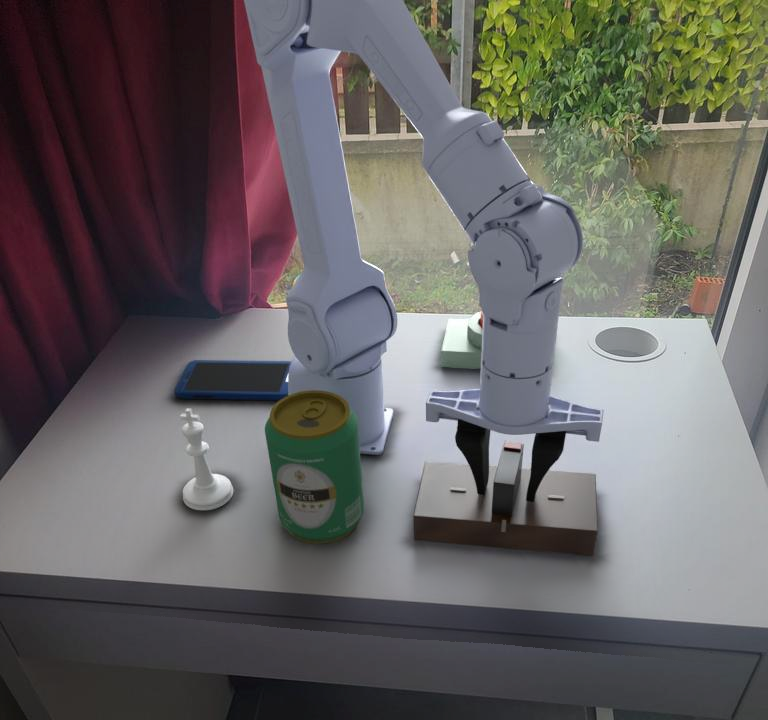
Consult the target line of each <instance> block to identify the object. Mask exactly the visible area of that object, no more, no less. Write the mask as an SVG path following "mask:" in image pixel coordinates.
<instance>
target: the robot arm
mask: <svg viewBox="0 0 768 720" xmlns="http://www.w3.org/2000/svg"><path fill="white" fill-rule="evenodd" d="M243 2H244V7H245V12H246V17H247V21H248V26H249V30H250V34H251V40H252V43H253V48H254V52H255V58H256V62H257V64H258V65H259V66H260V67H261V72H262V77H263V81H264V85H265V91H266V95H267V101H268V104H269V105H268V106H269V109H270V114H271V119H272V123H273V128H274V132H275V137H276V143H277V146H278V151H279V155H280V156H279V157H280V161H281V163H282V164H281V165H282V169H283V175H284V179H285V184H286V187H287V188H286V189H287V193H288V197H289V203H290V206H291V207H290V208H291V211H292V216H293V220H294V226H295V230H296V235H297V239H298V244H299V249H300V254H301V257H302V262H303V269H302V271H301V273H300V274H299V276H298V277H297V279H296V280H295V282H294V284H293V285H292V287H291V288H290V290H289V292H288V293H287V295H286V297H285V303H286V307H287V313H288V323H287V339H288V343H289V346H290V348H291V351H292V353H293V357H292V359H291V360H290V361H291V364H290V369H289V376H288V395H291V394H294V393H297V392H302V391H309V390H319V391H327V392H331V393H334V394H337V395H339V396H341V397H342V398H343V399H345V400H346V402H347V403H348V405H349V408H350V409H351V410H352V411H353V412H354V413H355V415H356V417H357V421H358V432H359V446H360V455H377V456H378V455H382V454H383V452H384V449H385V445H386V441H387V438H388V436H389V435H388V434H389V431H390V427H391V423H392V420H393V417H394V409H393V408H390V407H385V400H384V397H385V396H384V380H383V379H384V376H383V355H384V354H385V353H386V352H387V341H389V340H390V339H392V338H393V337H394V335H395V334H396V331H397V328H398V314H397V308H396V305H395V303H394V300H393V298H392V297H391V295H390V293H389V291H388V287H387V285H386V281H385V274H384V271H383V270H381V269H380V268H378V267H377V266H375V265H373V264H371V263H369V262H367V261H366V260H364V259H363V258H362V253H361V248H360V243H359V235H358V230H357V224H356V220H355V214H354V208H353V202H352V197H351V191H350V185H349V180H348V179H349V178H348V174H347V173H348V172H347V167H346V163H345V156H344V150H343V145H342V138H341V133H340V127H339V122H338V117H337V111H336V105H335V99H334V93H333V88H332V82H331V77H330V72H331V70H332V67H333V65H334V63H336V61H337V59H338V58H339V55H340V54H341V52H345V53H351V54H355V55H358V56H359V58H360V59H361V60H362V62H364V64H365V65H366V67H367V68H368V69H369V70H370V72H371V73H372V75H374V77H375V78H376V79H377V81H378V82H379V84H380V85H381V86H382V87H383V89H385V91H386V93H388V95H389V96H390V98H391V99H392V100H393V101H394V103H395V104H396V106H398V108H399V109H400V110H401V112H402V113H403V114H404V115H405V117H406V118H407V120H408V121H409V122H410V123H411V125H412V126H413V127H414V128H415V130H416V131H417V133H418V134H419V135H420V136H421V138H422V140H423V141H422V142H423V144H422V154H421V167H422V169H423V170H424V172H425V173H426V174H427V176H428V178H429V179H430V181H431V182H432V184H433V186H434V187H435V188H436V190H437V192H438V193H439V195H440V196H441V198H442V199H443V201H444V202H445V204H446V205H447V206H448V209H449V210H450V211H451V212H452V214H453V216H454V218H455V219H456V220H457V222H458V223H459V225H460V227H461V228H462V229H463V231H464V232H465V234H466V235H467V238H469V240H470V241H471V243H472V245H473V248H471V249H470V250H469V249H468V251H467V260H468V266H469V269H470V272H471V275H472V277H473V279H474V281H475V283H476V286H477V288H478V292H479V301H478V302H479V303H478V306H479V307H480V308H481V311H482V313H483V331H482V353H481V369H480V375H479V376H480V377H479V388H473V389H464V390H463V389H462V390H448V391H445V390H444V391H443V390H441V391H440V390H430V392H429V393H428V396H427V399H426V401H425V422H427V423H438V422H440V419H441V420H449V421H450V420H451V421H456V422H457V426H456V432H455V435H454V440H455V445H456V447H457V448H458V449H459V451H460V452H461V454H462V455H463V457H464V458H465V461H466V462H467V464H468V465H469V466H470V468H471V471H472V474H473V477H474V480H475V484H476V488H477V494H480V495H485V492H486V488H487V484H488V479H489V466H490V440H491V431H492V432H496V433H498V434H502V435H509V436H521V435H532V434H534V440H533V445H532V448H531V462H530V463H531V464H530V469H531V475H530V480H529V485H528V490H527V495H526V501H531V502H533V501H534V499H535V495H536V492H537V489H538V487H539V485H540V483H541V481H542V479H543V478H544V476H545V474H546V473H547V472H548V470H550V469H551V468H552V466H554V464H556V462H557V461H559V459H560V457H561V455H562V454H563V452H564V449H565V448H564V447H565V443H566V436H567V435H577V436H584V437H585V440H586V441H588V442H596V443H599V442H600V438H601V432H602V427H603V420H604V419H603V418H604V409H601V408H594V407H589V406H586V405H582V404H578V403H575V402H572V401H569V400H565V399H562V398H559V397H556V396H553V395H551V387H552V381H553V372H554V364H555V363H554V362H555V354H556V346H557V345H556V344H557V336H558V328H559V319H560V310H561V300H562V292H563V283H564V278H563V277H561V276H563V275H564V274H566V273H567V272H568V271H569V270H571V269H572V268H573V267H574V266H575V265H576V264H577V262H578V261H579V259H580V257H581V254H582V251H583V245H584V237H583V229H582V226H581V224H580V221H579V219H578V217H577V216H576V214H575V210H574V207H573V206H572V205H571V204H570V203H569V202H568V201H566V200H565V199H564V198H562V197H560V196H557V195H554V194H551V193H549V192H547V191H546V190H545V188H544V187H543V186H542V185H538V184H537V183H533V181H532V180H531V178H530V176H529V175H528V174H527V172H526V171H525V169H524V167H523V166H522V165H521V163H520V161H519V160H518V158H517V157H516V155H515V154H514V152H513V151H512V149H511V147H510V146H509V144H508V143H507V141H506V140H505V139H504V137H505V136H506V133H505V132H504V130H503V128H502V126H501V125H500V124H499V122H498V121H497V120H492V119H491V117H490V116H489V114H488V113H487V112H483V111H481V110H475V109H470V108H466V107H463V106H462V104H461V101H460V100H459V99H458V96H457V95H456V93H455V91H454V90H453V88H452V86H451V84H450V82H449V80H448V79H447V76H446V75H445V74H444V73H445V72H444V71H443V70H442V68H441V66H440V64H439V63H438V61H437V59H436V56H434V53H433V52H432V50H431V47H430V46H429V43H427V41H426V38H425V37H424V35H423V33H422V32H421V29H420V28H419V27H418V24H417V23H416V21H415V19H414V17H413V16H412V14H411V12H410V10H409V9H408V7H407V5H406V3H405V1H404V0H243Z"/></svg>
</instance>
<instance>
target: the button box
mask: <svg viewBox="0 0 768 720" xmlns="http://www.w3.org/2000/svg"><path fill="white" fill-rule="evenodd" d="M480 323H481V311H478V312H475V313H474V314H472V315H471V316H470V317H468V318H455V317H454V318H453V317H452V318H451V317H449V318H448V319H447V324H446V329H445V332H444V337H443V341H442V346H441V350H440V367H441V368H454V369H472V370H473V369H474V370H475V369H476V370H481V353H482V331H483V329H482V328H481V326H480Z"/></svg>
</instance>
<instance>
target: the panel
mask: <svg viewBox="0 0 768 720" xmlns="http://www.w3.org/2000/svg"><path fill="white" fill-rule="evenodd" d="M423 464H424V465H423V469H422V474H421V478H420V483H419V488H418V492H417V496H416V501H415V506H414V511H413V515H412V519H413V520H412V525H413V540H414V541H418V542H419V541H420V542H428V543H429V542H430V543H442V544H454V545H465V546H474V547H475V546H476V547H485V548H486V547H488V548H496V549H497V548H498V549H499V548H500V549H511V550H520V551H521V550H523V551H532V552H533V551H534V552H544V553H555V554H556V553H557V554H566V555H577V556H578V555H579V556H591V557H593V556H594V555H595V550H596V544H597V538H598V533H599V524H598V522H599V521H598V499H597V474H596V473H592V472H591V473H590V472H576V471H562V470H552V469H551V470H550V469H549V470H548V472H547V473H546V474H545V476H544V478H543V479H542V481H541V483H540V485H539V487H538V489H537V492H536V495H535V499H534V501H533V502H531V501H526V495H527V490H528V485H529V480H530V475H531V468H523V467H522V470H521V477H520V482H519V486H518V491H517V495H516V500H515V504H514V509H513V513H512V516H506V515H499V514H492V498H493V483H494V478H495V475H496V471H497V467H498V466H493V465H489V479H488V484H487V488H486V492H485V495H480V494H477V488H476V484H475V480H474V477H473V474H472V471H471V468H470V466H469V464H468V463H451V462H439V461H426V460H425V461H424V463H423Z"/></svg>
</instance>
